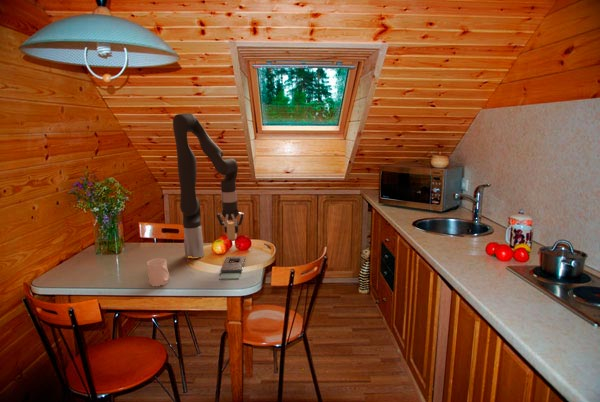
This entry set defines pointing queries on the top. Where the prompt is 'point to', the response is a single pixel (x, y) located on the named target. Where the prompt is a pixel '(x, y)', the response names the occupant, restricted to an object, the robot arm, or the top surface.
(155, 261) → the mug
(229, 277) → the pad
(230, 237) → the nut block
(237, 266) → the rail plate
